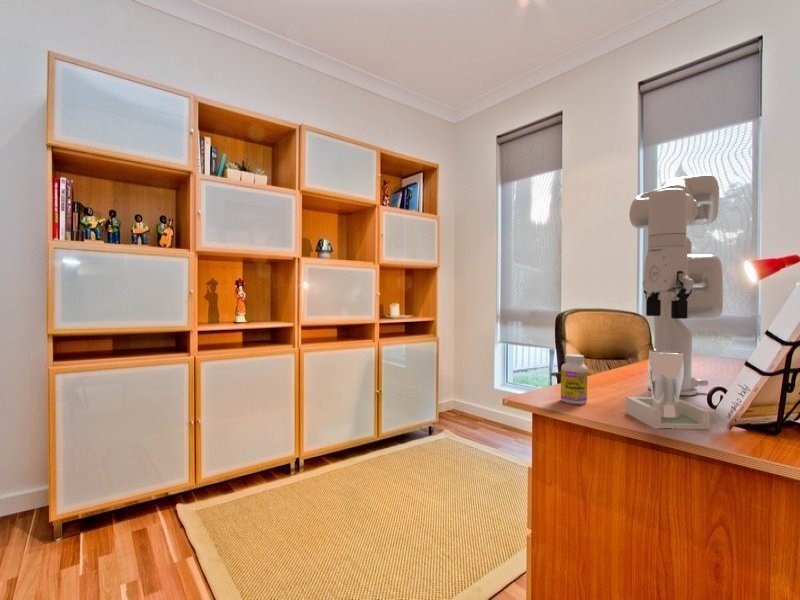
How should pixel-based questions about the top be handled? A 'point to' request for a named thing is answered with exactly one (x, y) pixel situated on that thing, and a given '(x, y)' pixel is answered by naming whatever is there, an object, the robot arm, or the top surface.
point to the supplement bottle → (574, 380)
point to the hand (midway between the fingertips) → (665, 317)
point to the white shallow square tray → (652, 417)
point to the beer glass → (666, 381)
